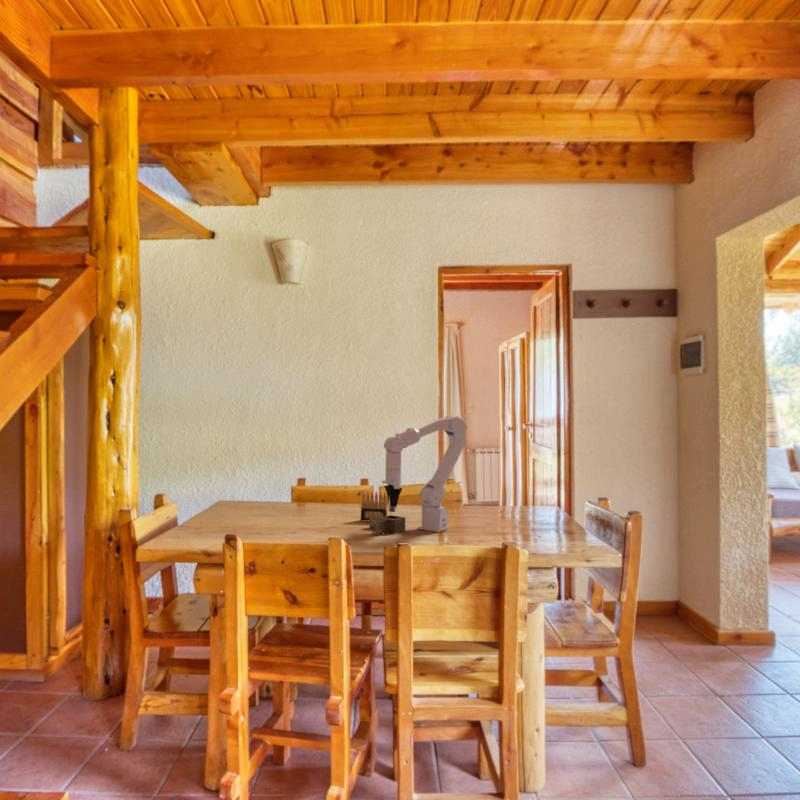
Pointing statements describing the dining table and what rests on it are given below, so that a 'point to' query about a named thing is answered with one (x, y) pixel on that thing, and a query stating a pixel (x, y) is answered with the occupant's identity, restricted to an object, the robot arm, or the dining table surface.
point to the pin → (392, 509)
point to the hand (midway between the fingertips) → (392, 505)
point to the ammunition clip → (373, 505)
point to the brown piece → (387, 524)
